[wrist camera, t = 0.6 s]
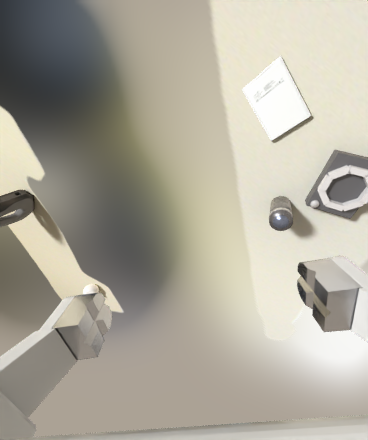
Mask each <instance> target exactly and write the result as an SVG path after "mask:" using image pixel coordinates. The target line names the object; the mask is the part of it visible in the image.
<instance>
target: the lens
mask: <svg viewBox="0 0 368 440" xmlns="http://www.w3.org/2000/svg"><path fill="white" fill-rule="evenodd" d="M269 223H270V226H271V227H272V228H273V229H275V230H278V231H284V230H287V229H289V228H290V227H291V226H292V224H293V215H292V210H291V202H290V200H289V199H288V198H286V197H283V196H279V197H276V198H274V199H273V200H272V202H271V207H270V215H269Z"/></svg>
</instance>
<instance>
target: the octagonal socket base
mask: <svg viewBox="0 0 368 440" xmlns="http://www.w3.org/2000/svg"><path fill="white" fill-rule="evenodd" d="M305 201H306V205H307V206H310V207H313V208H317V209H320V210H323V211H326V212H330V213H333V214H336V215H339V216H343V217H346V218H349V219H350V218H351V217H352V216H353V215H354V213H355V212H356V211H357V210H358V208H359V207H361V206H364V205H363V204H366V203H367V202H368V157H363V156H359V155H355V154H351V153H347V152H342V151H338V150H334V152H333V154H332V155H331V157H330V159H329V160H328V162H327V164H326V166H325V167H324V169H323V171H322V172H321V174H320V176H319V177H318V179H317V181H316V183H315V184H314V186H313V188H312V189H311V191H310V193H309V195H308V196H307V198H306V200H305Z"/></svg>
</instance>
